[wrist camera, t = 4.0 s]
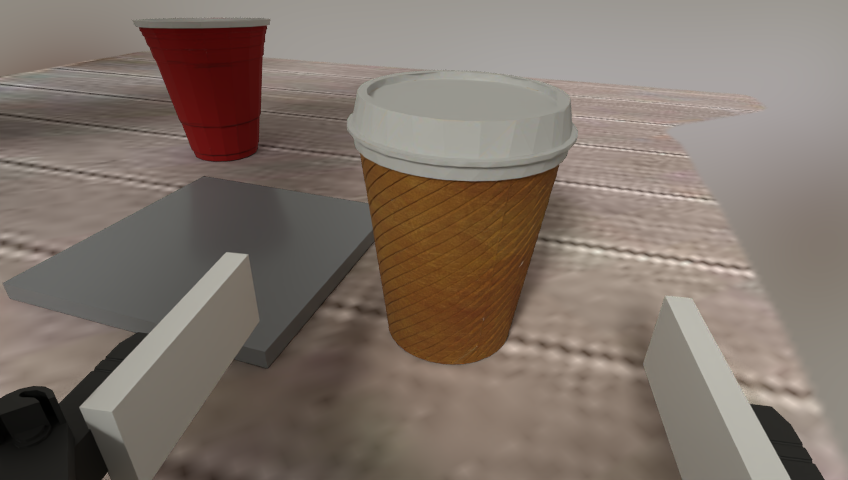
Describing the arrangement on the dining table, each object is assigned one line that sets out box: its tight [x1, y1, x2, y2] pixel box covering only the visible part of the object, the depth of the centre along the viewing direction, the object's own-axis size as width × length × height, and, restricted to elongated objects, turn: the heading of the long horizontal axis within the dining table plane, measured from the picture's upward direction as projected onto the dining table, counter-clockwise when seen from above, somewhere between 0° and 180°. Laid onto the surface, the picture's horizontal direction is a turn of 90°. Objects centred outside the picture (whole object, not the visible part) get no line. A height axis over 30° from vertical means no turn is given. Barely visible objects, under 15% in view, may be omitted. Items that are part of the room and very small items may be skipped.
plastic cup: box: [133, 18, 270, 161], centre depth 45 cm, size 11×11×12 cm
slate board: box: [3, 176, 375, 368], centre depth 32 cm, size 16×16×1 cm
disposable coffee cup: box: [347, 70, 578, 364], centre depth 23 cm, size 10×10×12 cm
